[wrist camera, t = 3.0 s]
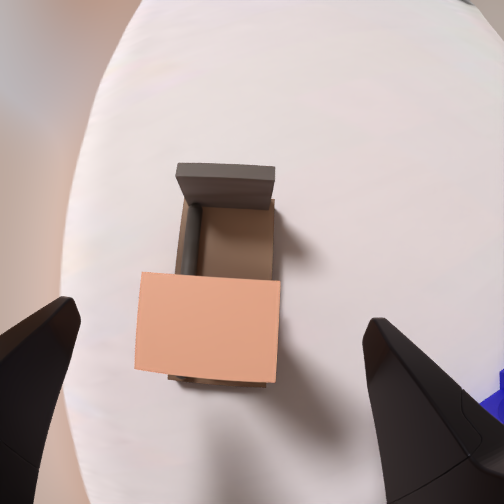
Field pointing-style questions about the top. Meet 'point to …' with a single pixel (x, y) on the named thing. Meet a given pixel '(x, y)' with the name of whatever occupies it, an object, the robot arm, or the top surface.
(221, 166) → the grey block holder
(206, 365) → the block
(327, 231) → the top surface
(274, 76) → the top surface
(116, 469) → the top surface
